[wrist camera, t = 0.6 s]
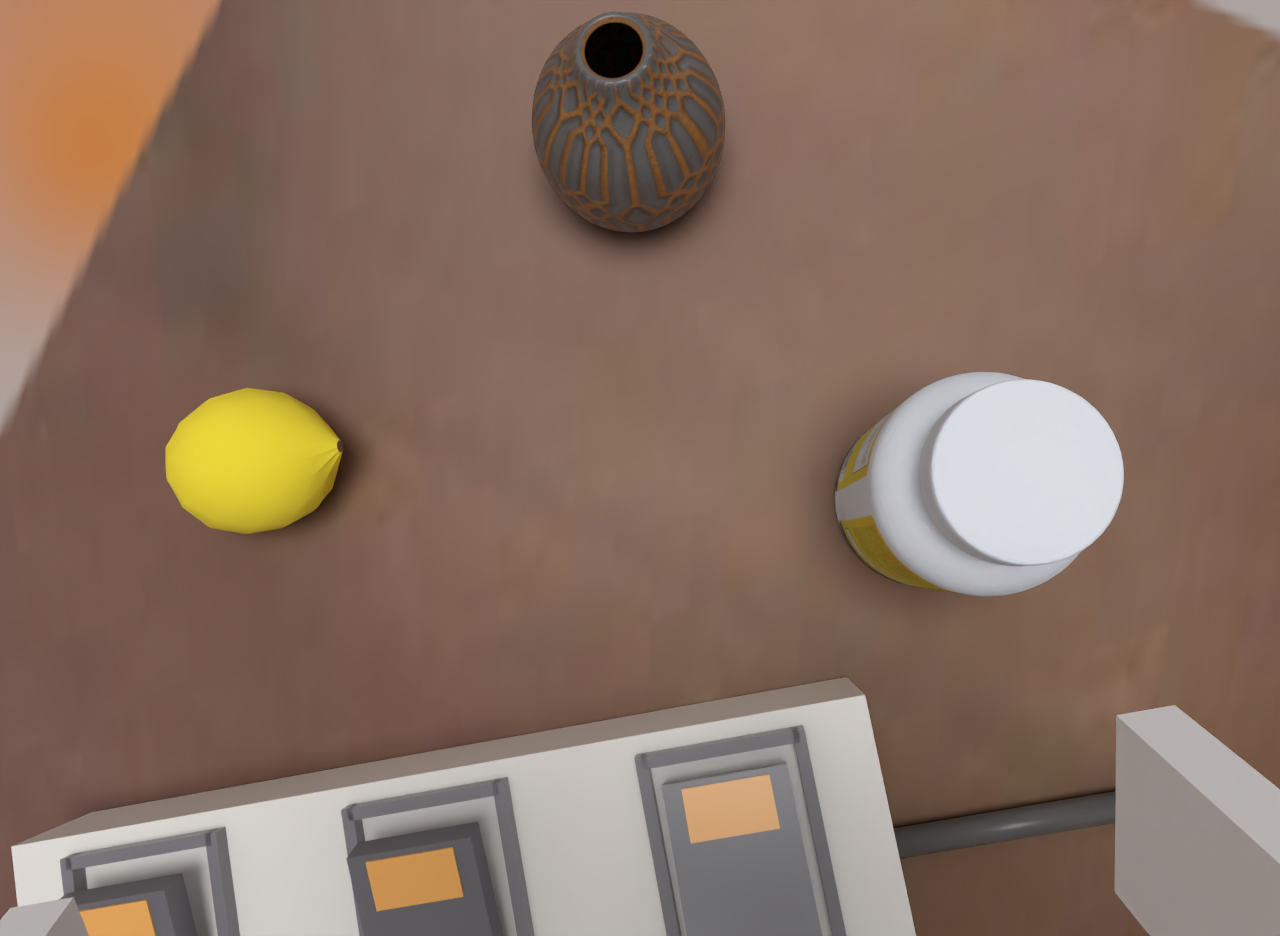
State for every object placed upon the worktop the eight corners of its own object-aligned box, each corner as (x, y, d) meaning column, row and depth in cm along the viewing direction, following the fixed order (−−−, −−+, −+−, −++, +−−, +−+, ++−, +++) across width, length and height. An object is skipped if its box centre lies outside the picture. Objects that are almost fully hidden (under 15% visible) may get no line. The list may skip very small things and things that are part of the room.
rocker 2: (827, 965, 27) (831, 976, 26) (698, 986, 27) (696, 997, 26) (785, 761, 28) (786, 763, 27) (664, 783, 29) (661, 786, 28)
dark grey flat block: (517, 997, 28) (510, 1020, 27) (398, 1015, 29) (387, 1040, 28) (477, 821, 28) (469, 838, 27) (357, 842, 28) (345, 860, 27)
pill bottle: (983, 605, 33) (1132, 637, 21) (812, 559, 33) (866, 566, 22) (1023, 437, 33) (1191, 378, 21) (854, 395, 34) (929, 316, 22)
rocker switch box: (1214, 965, 31) (1302, 1038, 26) (129, 1132, 33) (37, 1225, 29) (1131, 625, 32) (1201, 639, 27) (91, 812, 35) (-3, 852, 30)
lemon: (227, 541, 36) (122, 542, 31) (220, 411, 36) (116, 390, 31) (383, 523, 34) (301, 521, 29) (373, 388, 35) (291, 362, 30)
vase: (603, 61, 36) (568, -95, 27) (753, 133, 35) (768, -5, 26) (522, 208, 35) (460, 98, 27) (672, 284, 35) (659, 195, 26)
